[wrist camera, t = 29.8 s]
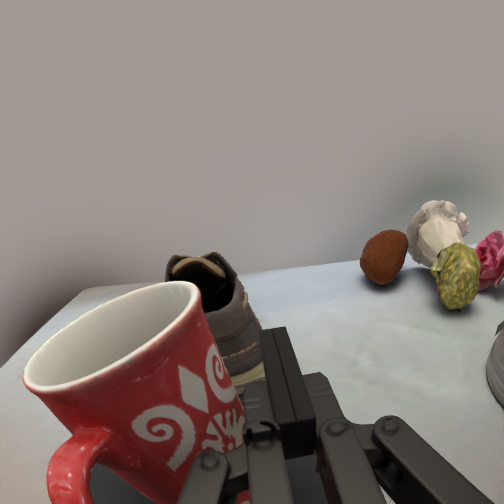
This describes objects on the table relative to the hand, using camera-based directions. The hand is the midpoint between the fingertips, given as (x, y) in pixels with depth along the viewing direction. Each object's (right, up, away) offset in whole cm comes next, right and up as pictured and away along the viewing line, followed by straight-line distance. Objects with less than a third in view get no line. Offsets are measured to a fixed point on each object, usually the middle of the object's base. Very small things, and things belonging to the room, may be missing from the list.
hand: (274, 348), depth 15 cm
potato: (+23, +4, +26) cm, 35 cm away
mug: (-3, -11, -3) cm, 12 cm away
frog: (+26, +1, +29) cm, 39 cm away
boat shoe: (-6, -5, +22) cm, 23 cm away
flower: (+38, 0, +20) cm, 43 cm away
